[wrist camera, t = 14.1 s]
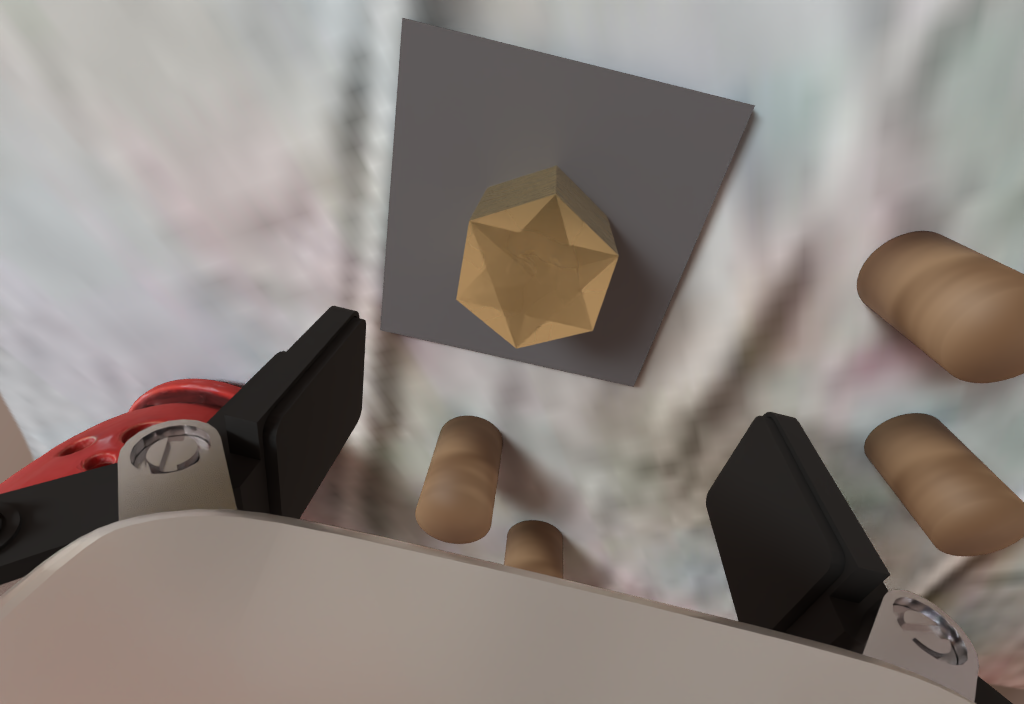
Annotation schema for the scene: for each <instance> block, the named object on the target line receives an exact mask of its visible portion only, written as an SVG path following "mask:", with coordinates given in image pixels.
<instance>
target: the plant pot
mask: <svg viewBox="0 0 1024 704" xmlns="http://www.w3.org/2000/svg"><path fill="white" fill-rule="evenodd" d="M240 389H241V387H238V386H235V385H231V384H228V383H224V382H220V381H214V380H207V379H181V380H175V381H170V382H166V383H163V384H161V385H158V386H156V387H154V388H153V389H151V390H149V391H147V392H146V393H145V394H143V395H142V396H141V397H139V398H138V399H137V400H136V401H135V402H134V404H133V405H132V406H131V408H130V410H129V412H128V413H125V414H122V415H120V416H117V417H114V418H112V419H109V420H107V421H104V422H102V423H100V424H98V425H96V426H94V427H92V428H90V429H88V430H86V431H84V432H82V433H80V434H78V435H76V436H74V437H72V438H70V439H68V440H67V441H65V442H63V443H61V444H59V445H58V446H56V447H54V448H53V449H51V450H50V451H49V452H47V453H46V454H44V455H43V456H41V457H40V458H38V459H36V460H35V461H33V462H32V463H30V464H29V465H27V466H26V467H24V468H23V469H21V470H20V471H18V472H17V473H15V474H14V475H12V476H11V477H10V478H8V479H7V480H5V481H4V482H3V483H1V484H0V494H2V493H6V492H10V491H13V490H17V489H21V488H24V487H28V486H32V485H36V484H39V483H43V482H47V481H51V480H54V479H58V478H62V477H65V476H69V475H73V474H77V473H80V472H84V471H88V470H92V469H95V468H99V467H103V466H106V465H110V464H114V463H118V457H119V453H120V450H121V448H122V447H123V446H124V445H125V443H126V442H127V441H128V440H129V439H130V438H132V437H133V436H134V435H136V434H137V433H138V432H140V431H142V430H144V429H146V428H148V427H150V426H152V425H156V424H159V423H163V422H166V421H172V420H181V419H186V420H198V421H201V422H204V423H207V422H208V421H209V420H210V419H211V418H212V417H213V416H214V415H215V414H216V413H217V412H218V411H219V410H220V409H221V408H222V407H223V406H224V405H225V404H226V403H227V402H228V401H229V400H230V399H231V398H232V397H233V396H234V395H235V394H236V393H237V392H238V391H239V390H240Z"/></svg>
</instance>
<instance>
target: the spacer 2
mask: <svg viewBox="0 0 1024 704" xmlns="http://www.w3.org/2000/svg"><path fill="white" fill-rule="evenodd" d="M504 565H506V566H510V567H515V568H519V569H523V570H527V571H531V572H536V573H540V574H544V575H548V576H552V577H557V578H561V579H563V537H562V535H561V533H560V531H559V530H558V529H557V528H556V527H554V526H553V525H551V524H549V523H546V522H543V521H536V520H529V521H523V522H520V523H517V524H516V525H514V526H513V527H512V528H511V529H510V530H509V532H508V534H507V543H506V552H505V561H504Z"/></svg>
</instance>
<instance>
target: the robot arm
mask: <svg viewBox="0 0 1024 704" xmlns="http://www.w3.org/2000/svg"><path fill="white" fill-rule="evenodd" d="M365 336H366V321H365V320H364V319H360V318H359V313H358V312H357V311H353V310H349V309H345V308H341V307H337V306H332V307H330V308H329V309H328V310H327V311H326V312H325V313H324V314H323V315H322V316H321V317H320V318H319V319H318V320H317V321H316V322H315V323H314V324H313V325H312V326H311V327H310V328H309V329H308V330H307V331H306V332H305V333H304V334H303V335H302V336H301V337H300V338H299V339H298V340H297V341H296V342H295V343H294V344H293V345H292V347H291V348H290V349H289V350H288V351H287V352H285V351H282V352H279V353H277V354H276V355H275V356H274V357H273V358H272V359H271V360H270V361H269V362H268V363H267V364H266V365H265V366H264V367H262V368H261V369H260V370H259V371H258V372H257V373H256V374H255V375H254V376H253V377H252V378H251V379H250V380H249V381H248V382H247V383H246V384H245V385H244V386H243V387H242V388H241V389H240V390H239V391H238V392H237V393H236V394H235V395H234V396H233V397H232V398H231V399H230V400H229V401H228V402H227V403H226V404H225V405H224V406H223V407H222V408H221V409H220V410H219V411H218V412H217V413H216V414H215V415H214V416H213V417H212V418H211V419H210V420H209V421H208V422H207V423H204V422H201V421H198V420H186V419H181V420H172V421H166V422H163V423H159V424H156V425H152V426H150V427H148V428H146V429H144V430H142V431H140V432H138V433H137V434H136V435H134V436H133V437H132V438H130V439H129V440H128V441H127V442H126V443H125V445H124V446H123V447H122V448H121V450H120V453H119V457H118V463H114V464H110V465H106V466H103V467H99V468H95V469H92V470H88V471H84V472H80V473H77V474H73V475H69V476H65V477H62V478H58V479H54V480H51V481H47V482H43V483H39V484H36V485H32V486H28V487H24V488H21V489H17V490H13V491H10V492H6V493H2V494H0V704H1012V703H1011V702H1010V701H1009V700H1007V699H1006V698H1005V697H1003V696H1002V695H1001V694H1000V693H999V692H997V691H996V690H995V689H994V688H992V687H991V686H990V685H989V684H987V683H986V682H985V681H983V680H982V679H981V678H980V677H978V669H979V662H978V655H977V653H976V651H975V648H974V646H973V644H972V642H971V641H970V639H969V638H968V637H967V635H966V634H965V633H964V631H963V630H962V629H961V628H960V627H959V626H958V624H957V623H956V622H955V621H954V620H953V619H952V618H951V617H950V616H949V615H947V614H946V613H945V612H944V611H942V610H941V609H940V608H939V607H937V606H936V605H935V604H933V603H931V602H930V601H928V600H927V599H925V598H923V597H922V596H919V595H917V594H914V593H912V592H910V591H906V590H900V589H895V590H890V591H888V590H887V588H886V586H885V585H884V583H883V581H884V580H885V579H886V578H887V577H888V576H889V575H890V573H889V572H888V570H887V568H886V567H885V565H884V563H883V562H882V560H881V558H880V557H879V555H878V553H877V552H876V550H875V548H874V547H873V545H872V543H871V542H870V540H869V538H868V537H867V535H866V533H865V532H864V530H863V528H862V527H861V525H860V523H859V522H858V520H857V518H856V517H855V515H854V513H853V512H852V510H851V508H850V507H849V505H848V503H847V502H846V500H845V498H844V497H843V495H842V493H841V492H840V490H839V488H838V487H837V485H836V483H835V482H834V480H833V478H832V477H831V475H830V473H829V472H828V470H827V468H826V467H825V465H824V463H823V462H822V460H821V458H820V457H819V455H818V453H817V452H816V450H815V448H814V447H813V445H812V443H811V442H810V440H809V438H808V437H807V435H806V433H805V432H804V430H803V428H802V427H801V425H800V423H799V422H798V421H797V419H796V418H793V417H789V416H785V415H781V414H777V413H773V412H767V413H766V414H764V415H763V416H758V417H756V418H755V419H754V421H753V422H752V424H751V425H750V427H749V428H748V430H747V432H746V433H745V435H744V436H743V438H742V439H741V441H740V443H739V444H738V446H737V447H736V449H735V450H734V452H733V454H732V455H731V457H730V458H729V460H728V462H727V463H726V465H725V466H724V468H723V469H722V471H721V473H720V474H719V476H718V477H717V479H716V480H715V482H714V484H713V485H712V487H711V488H710V490H709V492H708V494H707V498H706V507H707V511H708V514H709V518H710V521H711V525H712V528H713V532H714V535H715V539H716V542H717V546H718V550H719V553H720V557H721V560H722V564H723V567H724V571H725V574H726V578H727V581H728V585H729V589H730V592H731V596H732V599H733V603H734V606H735V610H736V613H737V617H738V620H739V621H735V620H730V619H726V618H722V617H718V616H714V615H710V614H706V613H702V612H698V611H694V610H690V609H685V608H681V607H677V606H673V605H669V604H665V603H661V602H657V601H653V600H649V599H644V598H640V597H636V596H632V595H628V594H624V593H619V592H615V591H611V590H607V589H603V588H599V587H594V586H590V585H586V584H582V583H578V582H573V581H569V580H565V579H561V578H557V577H552V576H548V575H544V574H540V573H536V572H531V571H527V570H523V569H519V568H515V567H510V566H506V565H502V564H498V563H493V562H489V561H485V560H480V559H476V558H472V557H468V556H463V555H459V554H455V553H450V552H446V551H442V550H437V549H433V548H429V547H425V546H420V545H416V544H412V543H407V542H403V541H399V540H394V539H390V538H386V537H382V536H377V535H372V534H368V533H363V532H358V531H354V530H349V529H344V528H340V527H335V526H331V525H326V524H321V523H317V522H312V521H307V520H302V519H300V517H301V515H302V514H303V512H304V510H305V509H306V507H307V505H308V504H309V502H310V500H311V499H312V497H313V495H314V494H315V492H316V490H317V489H318V487H319V485H320V484H321V482H322V480H323V479H324V477H325V475H326V474H327V472H328V471H329V469H330V467H331V466H332V464H333V462H334V461H335V459H336V457H337V456H338V454H339V452H340V451H341V449H342V447H343V446H344V444H345V442H346V441H347V439H348V437H349V436H350V434H351V432H352V431H353V429H354V427H355V426H356V424H357V422H358V420H359V418H360V415H361V410H362V396H363V376H364V356H365Z"/></svg>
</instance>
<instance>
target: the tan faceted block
mask: <svg viewBox="0 0 1024 704" xmlns="http://www.w3.org/2000/svg"><path fill="white" fill-rule="evenodd" d="M618 257H619V255H618V251H617V248H616V245H615V241H614V238H613V234H612V231H611V227H610V224H609V220H608V217H607V215H606V214H605V213H604V212H603V211H602V210H601V209H600V208H599V207H598V206H597V205H596V204H595V203H594V202H593V201H592V200H591V199H590V198H589V197H588V196H587V195H586V194H585V193H584V192H583V191H582V190H581V189H580V188H579V187H578V186H577V185H576V184H575V183H574V182H573V181H572V180H571V179H570V178H569V177H568V176H567V175H566V174H565V173H564V172H563V171H562V170H561V169H560V168H559V167H558V166H557V165H556V166H553V167H550V168H547V169H544V170H541V171H537V172H534V173H531V174H528V175H525V176H522V177H519V178H516V179H513V180H509V181H506V182H503V183H500V184H497V185H494V186H491V187H488V188H487V189H486V191H485V193H484V194H483V196H482V198H481V200H480V202H479V204H478V205H477V207H476V209H475V211H474V213H473V215H472V216H471V218H470V220H469V225H468V231H467V237H466V243H465V249H464V255H463V261H462V267H461V273H460V279H459V286H458V292H457V298H456V300H457V301H459V302H460V303H461V304H462V305H463V306H465V307H466V308H467V309H468V310H470V311H471V312H472V313H473V314H474V315H476V316H477V317H478V318H479V319H481V320H482V321H483V322H484V323H486V324H487V325H488V326H489V327H490V328H492V329H493V330H494V331H495V332H497V333H498V334H499V335H500V336H501V337H503V338H504V339H505V340H506V341H508V342H509V343H510V344H511V345H512V346H514V347H515V348H516V349H517V348H521V347H526V346H530V345H534V344H538V343H543V342H547V341H551V340H555V339H560V338H564V337H568V336H572V335H577V334H581V333H585V332H589V331H593V329H594V326H595V323H596V320H597V317H598V314H599V311H600V308H601V306H602V303H603V300H604V297H605V294H606V291H607V288H608V285H609V283H610V280H611V277H612V274H613V271H614V268H615V265H616V263H617V260H618Z"/></svg>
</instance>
